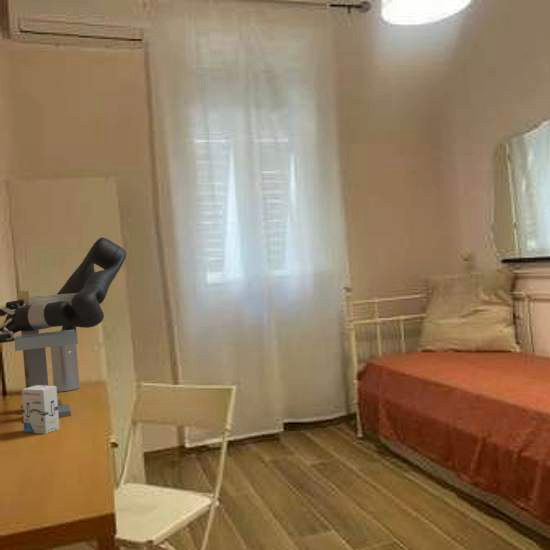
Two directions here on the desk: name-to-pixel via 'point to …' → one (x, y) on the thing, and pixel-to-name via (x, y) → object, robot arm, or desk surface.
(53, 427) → the ink box
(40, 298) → the pin
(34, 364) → the frame
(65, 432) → the desk surface
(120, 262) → the robot arm
